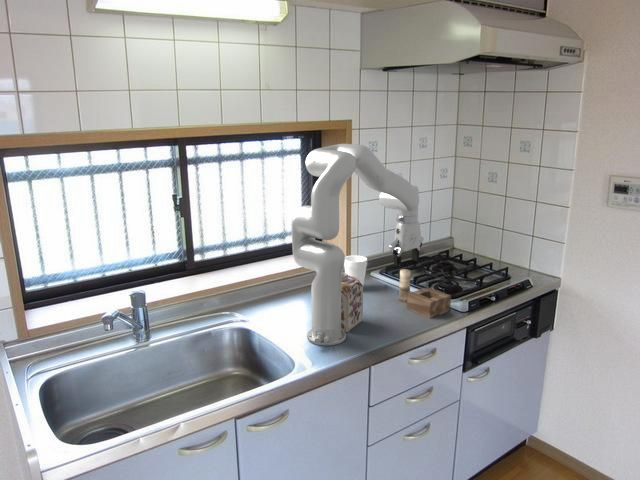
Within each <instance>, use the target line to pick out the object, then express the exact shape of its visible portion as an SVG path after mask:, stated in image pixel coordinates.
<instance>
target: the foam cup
mask: <svg viewBox="0 0 640 480" xmlns="http://www.w3.org/2000/svg"><path fill="white" fill-rule="evenodd" d="M367 266H368V258H367V257H366V256H364V255H357V254H356V255H355V254H354V255H347V256H345V263H344V267H343V268H344V273H347V274H348V276H353V277H355V278H356V279H357V280H359V281H360V283H361V284H362V285H363V287H364V285H365V284H364V283H365V278H366V271H367Z"/></svg>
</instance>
